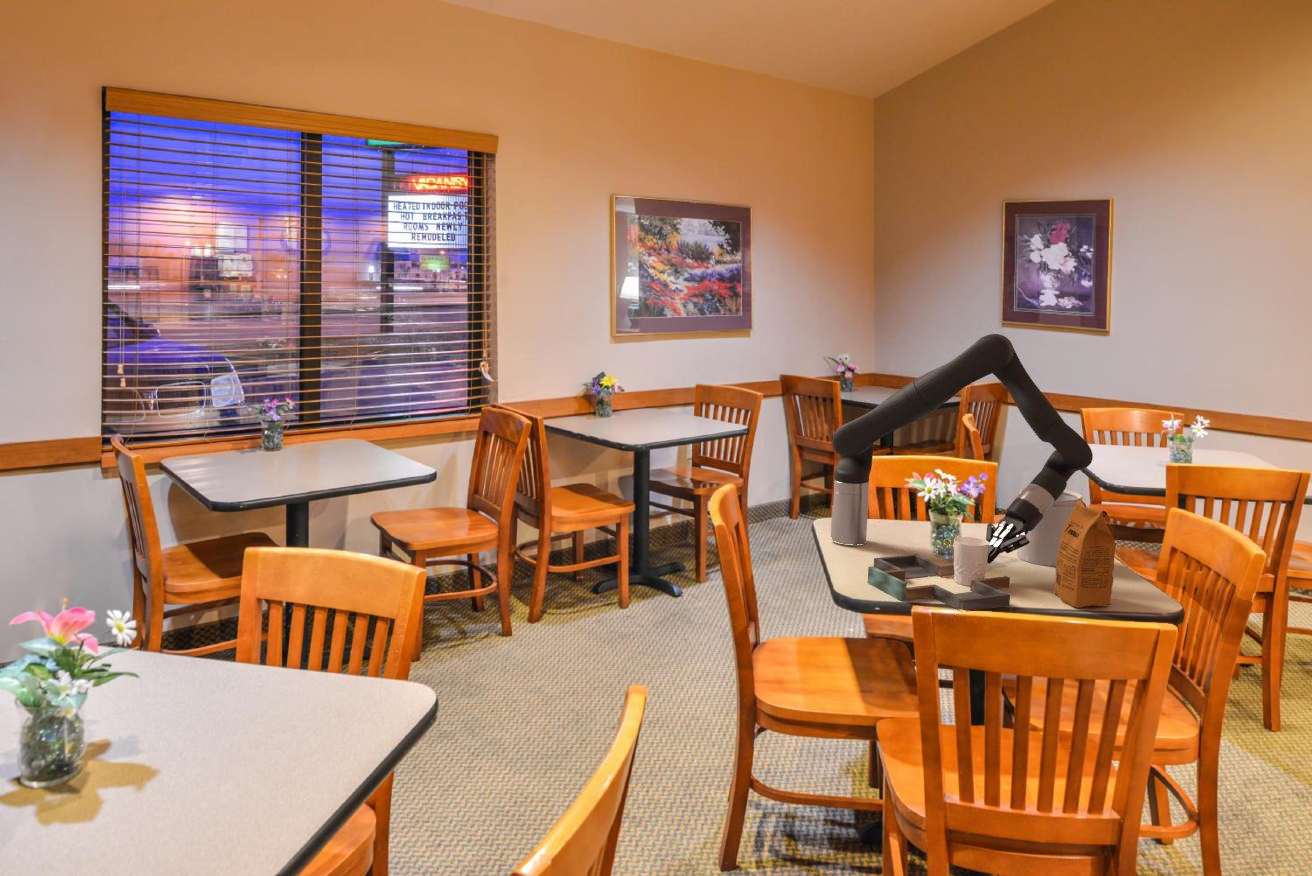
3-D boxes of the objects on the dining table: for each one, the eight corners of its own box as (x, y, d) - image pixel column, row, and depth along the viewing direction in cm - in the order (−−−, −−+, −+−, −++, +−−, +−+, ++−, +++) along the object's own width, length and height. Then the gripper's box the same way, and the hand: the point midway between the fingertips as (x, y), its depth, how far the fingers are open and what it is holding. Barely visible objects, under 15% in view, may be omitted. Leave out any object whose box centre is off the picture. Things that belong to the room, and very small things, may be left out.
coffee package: (1090, 592, 210) (1098, 498, 206) (1116, 610, 197) (1125, 511, 194) (1047, 591, 210) (1054, 497, 207) (1069, 609, 198) (1077, 510, 194)
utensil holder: (1087, 568, 229) (1093, 499, 226) (1027, 567, 229) (1032, 498, 226) (1062, 551, 243) (1067, 487, 241) (1006, 551, 244) (1010, 486, 241)
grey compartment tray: (844, 571, 224) (845, 555, 223) (944, 560, 234) (945, 545, 233) (929, 616, 192) (930, 597, 192) (1041, 601, 202) (1042, 584, 202)
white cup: (964, 588, 211) (966, 546, 210) (944, 578, 219) (947, 538, 217) (993, 586, 213) (996, 544, 212) (973, 576, 221) (976, 536, 219)
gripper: (1002, 491, 224) (958, 543, 222) (1042, 502, 212) (995, 558, 210) (1018, 511, 227) (974, 563, 224) (1058, 523, 214) (1012, 578, 212)
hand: (985, 560), depth 217 cm, fingers closed
